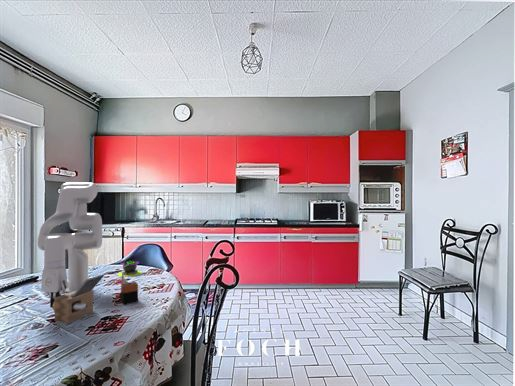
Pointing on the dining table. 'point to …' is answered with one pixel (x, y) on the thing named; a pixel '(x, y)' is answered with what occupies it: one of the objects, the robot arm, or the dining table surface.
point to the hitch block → (65, 306)
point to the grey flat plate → (87, 286)
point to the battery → (129, 292)
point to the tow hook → (121, 286)
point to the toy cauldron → (130, 269)
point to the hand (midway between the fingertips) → (55, 306)
